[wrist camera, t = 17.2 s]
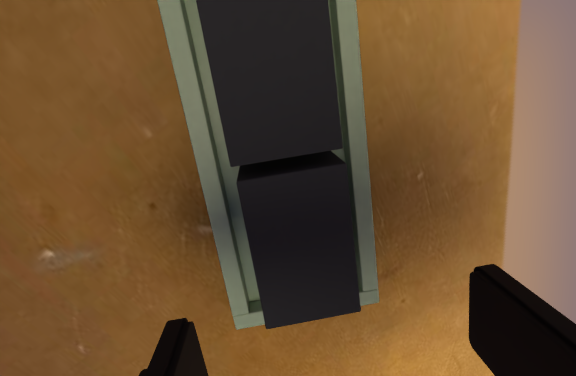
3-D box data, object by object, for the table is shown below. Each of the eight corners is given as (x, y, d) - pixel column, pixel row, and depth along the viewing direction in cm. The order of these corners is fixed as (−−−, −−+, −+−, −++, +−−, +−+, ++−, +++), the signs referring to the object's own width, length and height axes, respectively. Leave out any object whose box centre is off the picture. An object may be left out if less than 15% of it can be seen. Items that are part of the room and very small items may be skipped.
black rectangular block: (202, -14, 16) (186, -46, 12) (305, -28, 16) (321, -65, 12) (235, 151, 18) (230, 167, 14) (324, 136, 18) (342, 148, 14)
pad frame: (155, -38, 16) (144, -52, 14) (340, -63, 16) (350, -80, 14) (237, 312, 22) (235, 330, 20) (370, 287, 22) (379, 302, 20)
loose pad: (239, 162, 18) (235, 181, 14) (328, 147, 19) (346, 162, 15) (264, 285, 21) (266, 330, 17) (342, 271, 21) (361, 311, 17)
